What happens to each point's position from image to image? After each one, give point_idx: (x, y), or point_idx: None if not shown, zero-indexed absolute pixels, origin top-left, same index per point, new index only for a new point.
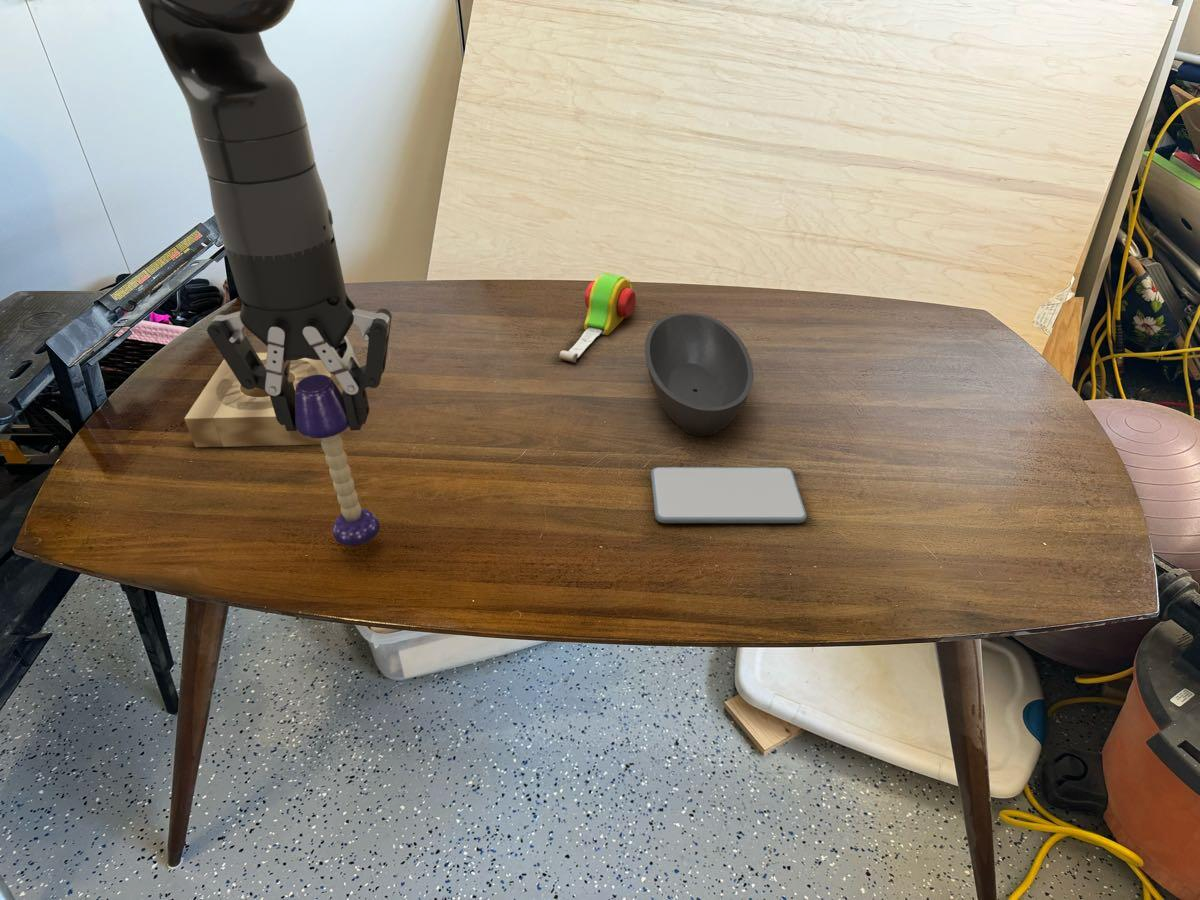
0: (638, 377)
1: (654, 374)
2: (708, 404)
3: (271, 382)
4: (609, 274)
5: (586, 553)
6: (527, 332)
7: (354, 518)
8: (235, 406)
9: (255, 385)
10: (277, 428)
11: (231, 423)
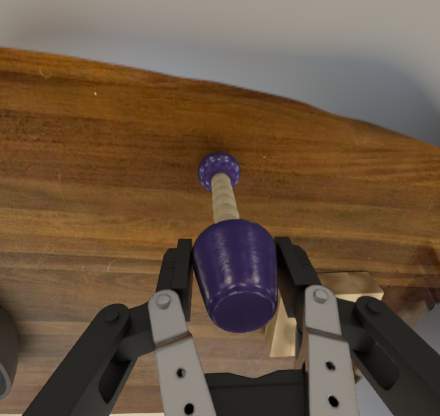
0: (43, 339)
1: None
2: None
3: (325, 310)
4: None
5: (6, 153)
6: (144, 374)
7: (216, 174)
8: None
9: (356, 303)
10: None
11: (345, 289)
